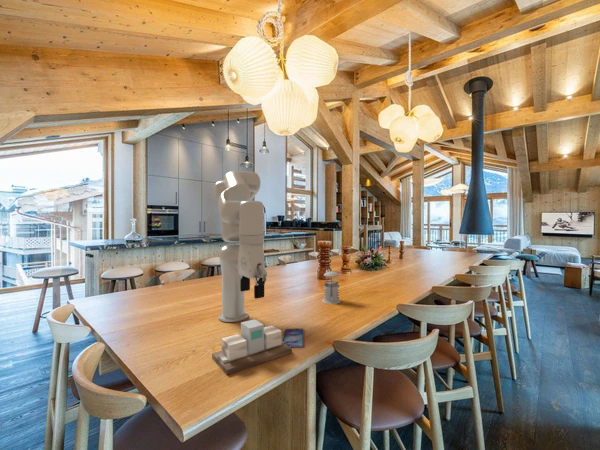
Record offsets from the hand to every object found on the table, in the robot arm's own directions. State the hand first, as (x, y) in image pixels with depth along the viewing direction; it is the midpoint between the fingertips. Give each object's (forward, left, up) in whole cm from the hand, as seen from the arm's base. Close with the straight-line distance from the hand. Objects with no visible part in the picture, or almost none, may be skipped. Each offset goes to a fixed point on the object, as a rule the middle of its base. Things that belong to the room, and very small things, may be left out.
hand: (252, 294), depth 93 cm
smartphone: (-3, +18, -20) cm, 27 cm away
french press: (-28, +59, -20) cm, 68 cm away
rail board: (0, 0, -20) cm, 20 cm away
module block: (0, 0, -18) cm, 18 cm away
